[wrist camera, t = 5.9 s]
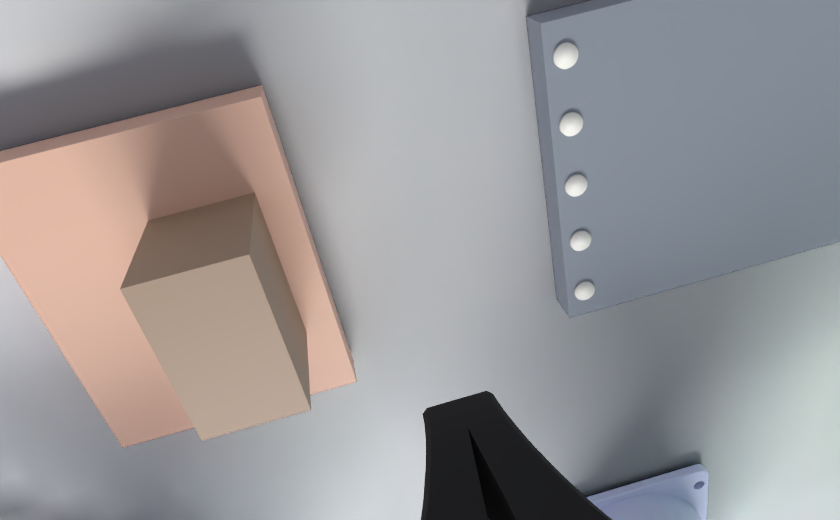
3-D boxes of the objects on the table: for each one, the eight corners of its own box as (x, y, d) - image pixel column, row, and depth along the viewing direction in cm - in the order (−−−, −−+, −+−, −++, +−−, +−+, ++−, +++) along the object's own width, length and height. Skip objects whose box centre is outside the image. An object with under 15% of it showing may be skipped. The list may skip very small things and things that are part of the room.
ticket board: (910, 200, 24) (940, 215, 23) (556, 299, 23) (570, 319, 22) (976, -98, 19) (1019, -97, 18) (526, 16, 18) (541, 24, 17)
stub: (353, 360, 23) (368, 462, 19) (129, 422, 22) (95, 541, 18) (262, 84, 18) (256, 142, 14) (-31, 158, 17) (-129, 241, 13)
